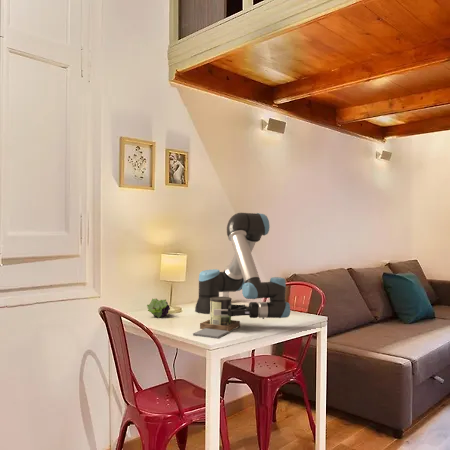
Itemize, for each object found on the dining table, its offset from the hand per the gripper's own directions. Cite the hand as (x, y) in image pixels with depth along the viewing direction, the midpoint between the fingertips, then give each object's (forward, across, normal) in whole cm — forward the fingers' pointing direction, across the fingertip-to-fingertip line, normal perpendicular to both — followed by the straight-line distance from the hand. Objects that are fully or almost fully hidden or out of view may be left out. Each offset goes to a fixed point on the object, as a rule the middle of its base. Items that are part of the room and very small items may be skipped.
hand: (212, 309), depth 215 cm
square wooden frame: (-4, 0, -8) cm, 9 cm away
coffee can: (-4, 0, -9) cm, 9 cm away
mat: (+1, -13, -8) cm, 16 cm away
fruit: (+26, +26, -9) cm, 38 cm away
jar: (-12, +69, -9) cm, 71 cm away
